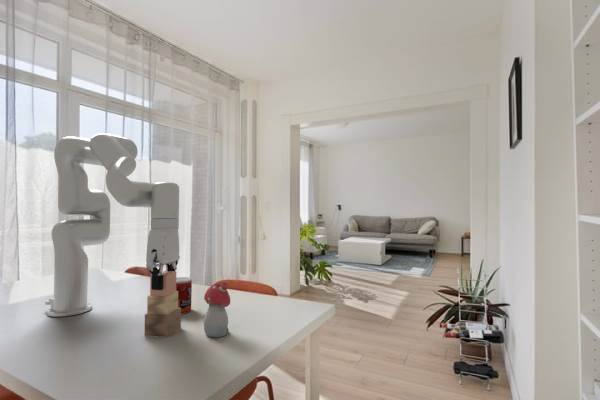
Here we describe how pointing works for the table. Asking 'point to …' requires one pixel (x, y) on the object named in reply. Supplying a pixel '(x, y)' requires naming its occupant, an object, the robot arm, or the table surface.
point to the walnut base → (162, 324)
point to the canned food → (184, 293)
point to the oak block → (162, 304)
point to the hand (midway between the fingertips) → (163, 286)
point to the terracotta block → (165, 284)
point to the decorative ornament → (216, 310)
